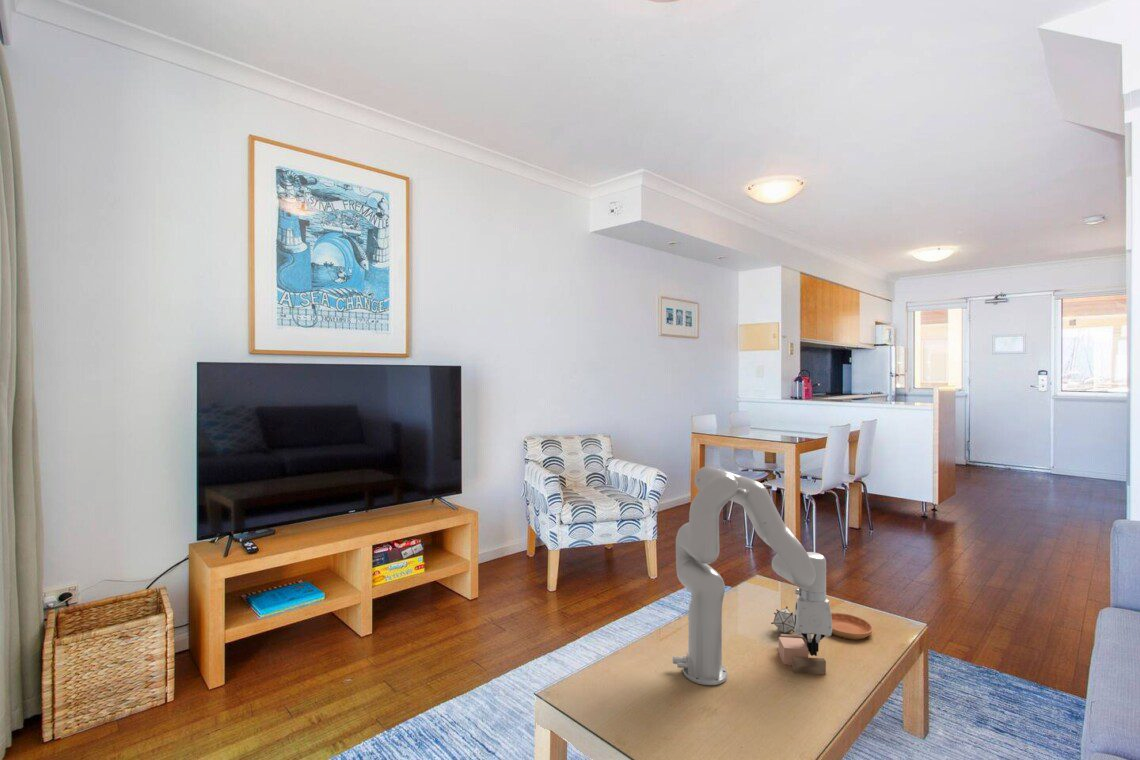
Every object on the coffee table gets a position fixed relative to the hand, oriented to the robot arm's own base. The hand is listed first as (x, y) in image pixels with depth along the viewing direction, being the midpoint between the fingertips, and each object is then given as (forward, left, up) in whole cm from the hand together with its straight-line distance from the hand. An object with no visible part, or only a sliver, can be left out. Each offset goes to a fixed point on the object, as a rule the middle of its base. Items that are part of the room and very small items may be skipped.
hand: (812, 653), depth 172 cm
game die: (-4, +18, -2) cm, 19 cm away
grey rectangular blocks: (-3, 0, -2) cm, 4 cm away
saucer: (+17, +22, -3) cm, 28 cm away
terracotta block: (-6, 0, -2) cm, 6 cm away
